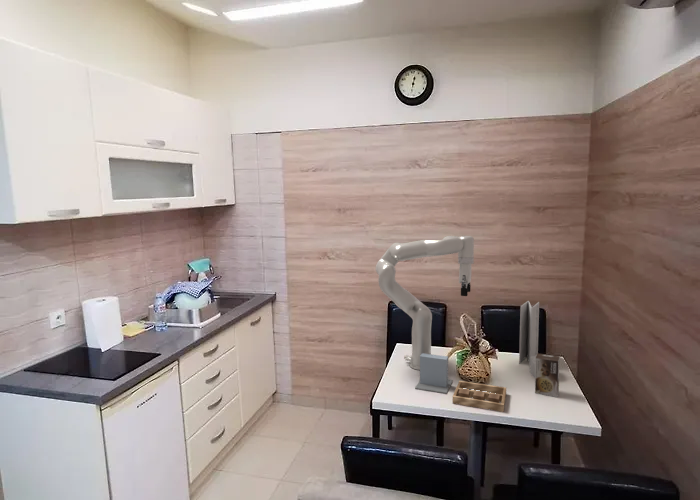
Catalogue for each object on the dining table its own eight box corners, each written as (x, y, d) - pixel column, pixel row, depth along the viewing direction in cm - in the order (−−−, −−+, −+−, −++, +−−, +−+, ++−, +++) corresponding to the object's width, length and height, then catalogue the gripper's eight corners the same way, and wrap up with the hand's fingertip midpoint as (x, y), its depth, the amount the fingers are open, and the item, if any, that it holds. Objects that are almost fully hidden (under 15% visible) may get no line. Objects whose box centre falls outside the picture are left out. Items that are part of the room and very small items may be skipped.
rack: (452, 403, 176) (452, 396, 175) (459, 386, 191) (459, 380, 190) (503, 412, 168) (503, 404, 167) (506, 394, 183) (506, 387, 182)
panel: (420, 383, 194) (419, 356, 192) (422, 379, 198) (422, 353, 196) (446, 387, 189) (446, 359, 188) (448, 383, 193) (448, 356, 191)
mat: (415, 388, 190) (415, 387, 190) (422, 376, 203) (422, 375, 203) (446, 394, 184) (446, 392, 184) (452, 381, 197) (452, 379, 197)
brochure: (530, 366, 212) (532, 307, 208) (519, 363, 215) (520, 306, 212) (537, 357, 223) (539, 301, 220) (526, 355, 227) (528, 300, 223)
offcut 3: (488, 406, 172) (488, 397, 172) (489, 402, 176) (489, 393, 176) (498, 408, 171) (498, 399, 170) (499, 404, 174) (499, 394, 174)
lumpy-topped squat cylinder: (550, 370, 206) (550, 353, 205) (558, 381, 194) (559, 363, 193) (527, 369, 208) (528, 352, 207) (534, 380, 195) (535, 362, 194)
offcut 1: (458, 401, 177) (458, 392, 177) (460, 397, 181) (460, 388, 180) (468, 403, 176) (468, 394, 175) (469, 399, 179) (469, 390, 179)
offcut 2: (473, 404, 175) (473, 395, 174) (474, 399, 178) (474, 390, 178) (483, 405, 173) (483, 396, 173) (484, 401, 177) (484, 392, 176)
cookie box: (559, 391, 184) (560, 356, 182) (557, 397, 178) (559, 361, 176) (536, 387, 189) (537, 352, 187) (534, 393, 183) (535, 357, 181)
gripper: (461, 257, 222) (461, 289, 224) (455, 262, 206) (455, 297, 208) (475, 258, 219) (475, 290, 221) (471, 263, 203) (470, 298, 205)
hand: (465, 293), depth 214 cm, fingers open, 9 cm apart
